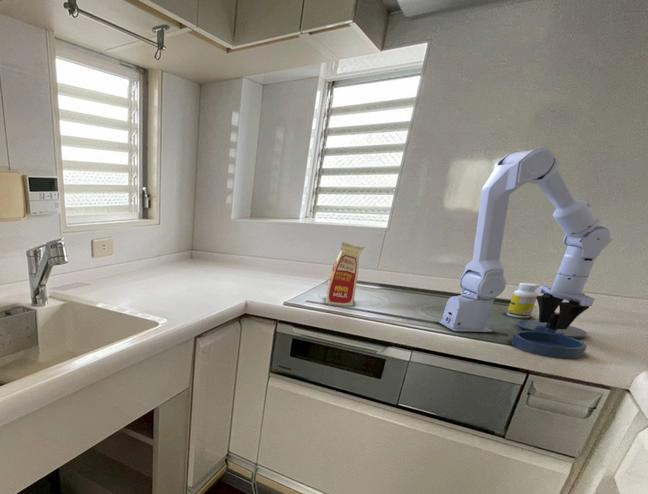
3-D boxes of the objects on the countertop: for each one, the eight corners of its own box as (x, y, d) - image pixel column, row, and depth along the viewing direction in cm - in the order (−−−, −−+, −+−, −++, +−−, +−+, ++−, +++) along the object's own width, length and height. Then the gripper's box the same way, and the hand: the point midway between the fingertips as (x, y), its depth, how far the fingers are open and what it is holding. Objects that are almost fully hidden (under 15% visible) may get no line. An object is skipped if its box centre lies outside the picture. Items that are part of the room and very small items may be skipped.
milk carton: (326, 304, 136) (336, 243, 128) (325, 297, 144) (334, 239, 136) (355, 306, 133) (368, 244, 125) (353, 299, 141) (364, 240, 133)
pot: (536, 357, 92) (540, 347, 91) (499, 338, 103) (502, 330, 102) (598, 359, 90) (603, 349, 89) (553, 340, 102) (557, 331, 101)
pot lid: (541, 339, 103) (549, 320, 101) (504, 323, 115) (511, 305, 113) (601, 341, 101) (609, 321, 99) (557, 324, 114) (564, 307, 112)
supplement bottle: (506, 312, 125) (516, 281, 122) (529, 315, 122) (541, 283, 118) (506, 316, 121) (517, 284, 118) (529, 319, 118) (542, 286, 114)
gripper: (617, 280, 95) (593, 334, 101) (566, 269, 109) (547, 318, 114) (584, 280, 96) (561, 333, 101) (537, 269, 109) (519, 317, 115)
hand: (552, 325), depth 108 cm, fingers open, 5 cm apart
